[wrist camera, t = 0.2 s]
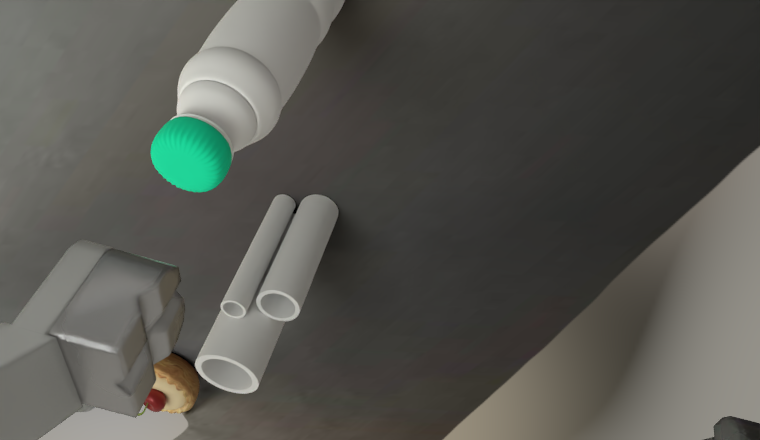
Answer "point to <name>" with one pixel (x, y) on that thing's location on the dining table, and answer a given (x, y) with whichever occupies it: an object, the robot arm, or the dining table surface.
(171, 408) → the pastry
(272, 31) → the water bottle
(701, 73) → the dining table surface
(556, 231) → the dining table surface
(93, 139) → the dining table surface
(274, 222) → the vase
